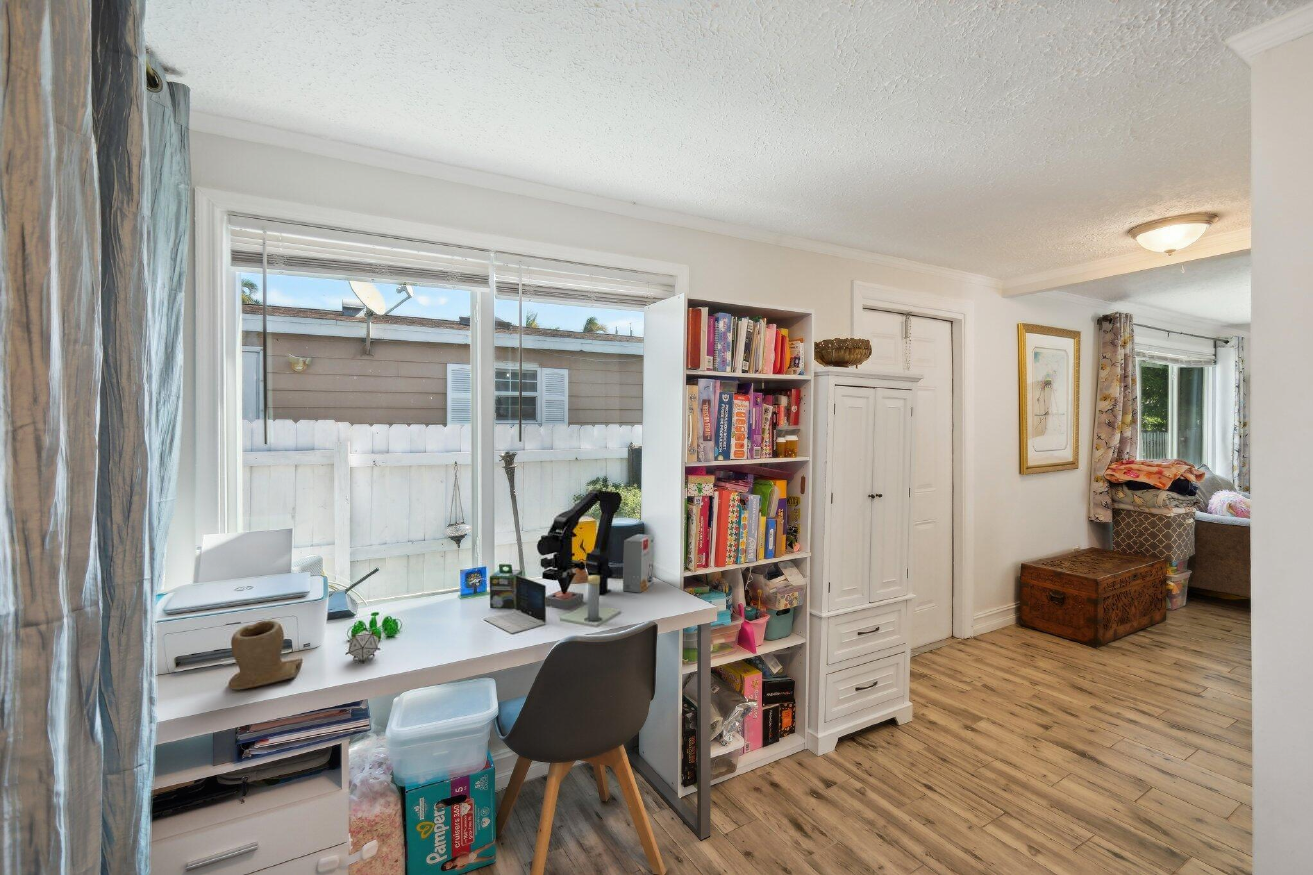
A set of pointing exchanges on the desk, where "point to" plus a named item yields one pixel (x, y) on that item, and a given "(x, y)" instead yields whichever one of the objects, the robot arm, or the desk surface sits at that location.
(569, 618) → the pale green board
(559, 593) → the button
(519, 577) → the laptop
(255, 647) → the stone cup
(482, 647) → the desk surface
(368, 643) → the game die
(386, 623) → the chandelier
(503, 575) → the chalk box
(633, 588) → the hard drive box
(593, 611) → the marker
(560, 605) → the button housing
